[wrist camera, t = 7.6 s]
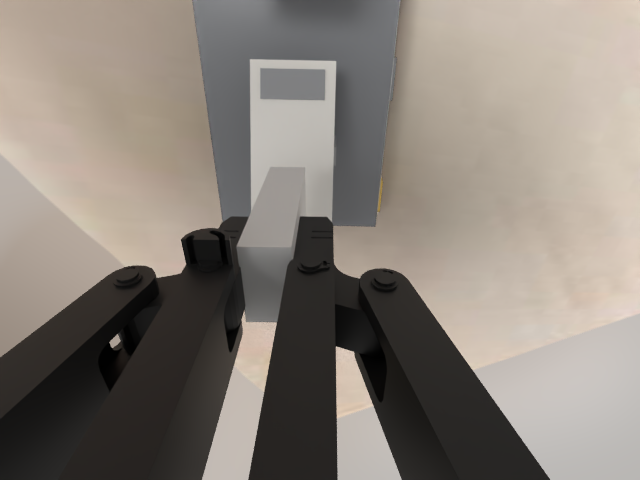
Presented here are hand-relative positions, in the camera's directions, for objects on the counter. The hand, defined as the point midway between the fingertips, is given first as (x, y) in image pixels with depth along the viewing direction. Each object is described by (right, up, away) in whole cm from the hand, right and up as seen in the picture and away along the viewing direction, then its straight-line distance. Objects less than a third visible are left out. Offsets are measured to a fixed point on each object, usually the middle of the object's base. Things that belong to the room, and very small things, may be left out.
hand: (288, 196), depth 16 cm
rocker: (0, +3, +6) cm, 6 cm away
